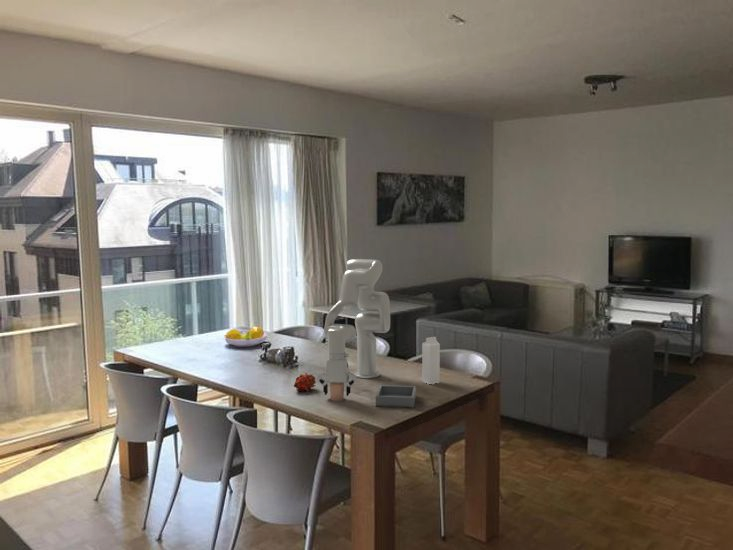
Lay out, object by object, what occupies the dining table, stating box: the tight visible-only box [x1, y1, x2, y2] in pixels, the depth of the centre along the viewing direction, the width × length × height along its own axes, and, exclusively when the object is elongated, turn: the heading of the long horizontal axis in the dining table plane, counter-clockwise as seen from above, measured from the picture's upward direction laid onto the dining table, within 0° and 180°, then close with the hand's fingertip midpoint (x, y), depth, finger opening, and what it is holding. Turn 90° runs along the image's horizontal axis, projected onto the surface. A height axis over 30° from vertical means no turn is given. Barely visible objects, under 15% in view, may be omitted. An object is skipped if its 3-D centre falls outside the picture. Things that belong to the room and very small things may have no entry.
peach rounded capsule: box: [329, 382, 345, 402], centre depth 260 cm, size 6×6×7 cm
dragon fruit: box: [293, 372, 316, 392], centre depth 272 cm, size 8×8×12 cm
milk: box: [421, 336, 441, 385], centre depth 282 cm, size 6×6×22 cm
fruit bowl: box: [223, 326, 268, 348], centre depth 363 cm, size 28×27×11 cm
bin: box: [375, 384, 417, 408], centre depth 256 cm, size 16×16×4 cm
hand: (337, 394), depth 260 cm, fingers open, 9 cm apart
